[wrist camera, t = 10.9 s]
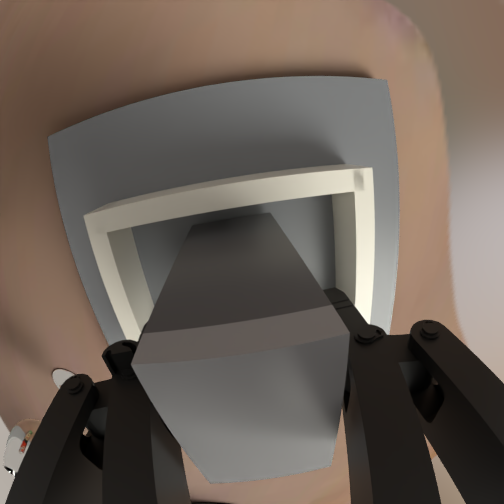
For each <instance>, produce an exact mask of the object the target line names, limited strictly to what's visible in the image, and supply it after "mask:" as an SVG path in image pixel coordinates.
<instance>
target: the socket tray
mask: <svg viewBox="0 0 504 504" xmlns="http://www.w3.org/2000/svg"><path fill="white" fill-rule="evenodd" d="M48 145H49V153H50V160H51V167H52V173H53V178H54V184H55V189H56V194H57V198H58V203H59V207H60V211H61V215H62V219H63V223H64V227H65V231H66V234H67V238H68V241H69V245H70V248H71V251H72V254H73V257H74V260H75V263H76V266H77V269H78V272H79V275H80V278H81V281H82V283H83V286H84V289H85V291H86V294H87V296H88V299H89V301H90V304H91V306H92V309H93V311H94V313H95V316H96V318H97V320H98V322H99V325H100V327H101V329H102V331H103V333H104V335H105V337H106V340H107V342H108V344H109V346H110V345H112V344H113V343H115V342H118V341H121V340H134V341H136V342H137V341H139V340H138V339H139V336H140V334H141V332H142V329H143V327H144V325H145V324H146V323H147V322H148V320H149V318H150V315H151V313H152V311H153V308H154V306H155V304H156V301H157V299H158V297H159V295H160V292H161V290H162V288H163V286H164V283H165V281H166V279H167V277H168V275H169V272H170V270H171V268H172V266H173V264H174V262H175V260H176V257H177V255H178V253H179V251H180V249H181V247H182V245H183V243H184V241H185V239H186V237H187V235H188V233H189V231H190V229H191V227H192V225H197V224H203V223H209V222H214V221H220V220H226V219H232V218H238V217H245V216H251V215H257V214H264V213H271V214H272V216H273V217H274V219H275V220H276V222H277V223H278V224H279V226H280V227H281V229H282V230H283V232H284V233H285V235H286V236H287V237H288V239H289V240H290V242H291V243H292V245H293V246H294V248H295V249H296V251H297V252H298V254H299V255H300V257H301V258H302V260H303V261H304V263H305V264H306V266H307V267H308V269H309V270H310V272H311V273H312V275H313V276H314V278H315V279H316V281H317V282H318V284H319V285H320V287H321V288H322V290H324V289H329V288H334V287H335V288H337V289H339V290H341V291H343V292H344V293H345V294H346V295H347V297H348V298H349V300H351V302H352V303H353V304H354V306H355V307H356V308H357V310H358V311H359V312H360V314H361V315H362V316H363V318H364V319H365V320H366V322H367V323H368V324H372V325H376V326H378V327H380V328H382V329H383V330H384V331H385V332H386V334H387V335H389V332H390V326H391V319H392V312H393V305H394V297H395V288H396V278H397V265H398V249H399V214H400V209H399V173H398V157H397V146H396V136H395V127H394V119H393V112H392V105H391V99H390V93H389V87H388V82H387V80H382V79H372V78H360V77H342V76H293V77H275V78H262V79H252V80H243V81H235V82H227V83H221V84H214V85H208V86H203V87H198V88H192V89H188V90H183V91H178V92H174V93H170V94H166V95H162V96H158V97H154V98H150V99H147V100H143V101H140V102H136V103H133V104H130V105H126V106H123V107H120V108H117V109H114V110H111V111H108V112H106V113H103V114H100V115H97V116H95V117H92V118H90V119H87V120H84V121H82V122H80V123H77V124H75V125H72V126H70V127H68V128H66V129H63V130H61V131H59V132H57V133H55V134H53V135H50V136H48Z"/></svg>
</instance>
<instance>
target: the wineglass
mask: <svg viewBox="0 0 504 504" xmlns="http://www.w3.org/2000/svg"><path fill="white" fill-rule="evenodd" d="M74 375H75V374H74V373H72V372H70V371H67V370H64V369H56V370H54V371H53V374H52V377H53V380H54V382H55V384H56V386H57V387H58V388H59V389H60V387H61V385H62V384H63V383H64V382H65V380H67V379H68V378H69V377H71V376H74ZM40 423H41V421H39V420H36V419H30V418H29V419H23V420H21V421H19V422H18V423H17V424H16V425H15V426H14V427H13V429H12V431H11V433H10V435H9V437H8V440H7V444H6V450H5V455H4V463H3V466H4V468H5V469H6V470H7V471H8V472H9V473H11V474H12V475H13V476H14V477H16V474H17V472H18V469H19V467H20V465H21V462H22V460H23V458H24V456H25V454H26V451H27V449H28V447H29V445H30V443H31V441H32V439H33V437H34V435H35V433H36V431H37V429H38V427H39V425H40Z"/></svg>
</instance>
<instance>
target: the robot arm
mask: <svg viewBox="0 0 504 504" xmlns="http://www.w3.org/2000/svg"><path fill="white" fill-rule="evenodd" d="M323 291H324V293H325V294H326V296H327V298H328V299H329V301H330V302H331V304H332V305H333V307H334V308H335V310H336V312H337V313H338V315H339V316H340V318H341V319H342V321H343V323H344V324H345V326H346V327H347V329H348V331H349V332H350V338H349V350H348V361H347V371H346V379H345V388H344V395H343V402H342V409H343V417H344V425H345V434H346V444H347V454H348V465H349V478H350V493H351V504H441V501H440V495H439V491H438V486H437V482H436V478H435V473H434V470H433V465H432V462H431V458H430V454H429V450H428V447H427V443H426V440H425V436H426V438H427V439H428V441H429V442H430V444H431V445H432V447H433V449H434V450H435V452H436V454H437V455H438V457H439V458H440V460H441V462H442V463H443V465H444V467H445V468H446V470H447V472H448V473H449V475H450V476H451V478H452V480H453V482H454V483H455V485H456V487H457V489H458V490H459V492H460V494H461V496H462V497H463V499H464V501H465V503H466V504H504V384H503V382H502V381H501V380H500V379H499V378H498V377H497V376H496V375H495V374H494V373H493V372H492V371H491V370H490V369H489V368H488V367H487V366H486V365H485V364H484V363H483V362H482V361H481V360H480V359H479V358H478V357H477V356H476V355H475V354H474V353H473V352H472V351H471V350H470V349H469V348H468V347H467V346H466V345H464V344H463V343H462V342H461V341H460V340H459V339H458V338H457V337H456V336H455V335H454V334H453V333H452V332H451V331H449V330H448V329H447V328H446V327H445V326H444V325H442V324H441V323H439V322H436V321H433V320H422V321H418V322H417V323H415V324H413V326H412V328H411V330H410V334H404V335H387V334H386V332H385V331H384V330H383V329H382V328H380V327H378V326H376V325H372V324H368V323H367V322H366V320H365V319H364V318H363V316H362V315H361V314H360V312H359V311H358V310H357V308H356V307H355V306H354V304H353V303H352V302H351V300H349V298H348V297H347V295H346V294H345V293H344V292H343V291H341V290H339V289H337V288H335V287H334V288H329V289H324V290H323ZM147 323H148V322H147ZM147 323H146V324H145V325H144V327H143V329H142V332H141V334H140V336H139V339H138V340H139V341H137V342H136V341H134V340H121V341H118V342H115V343H113V344H112V345H110V346H109V347H108V348H107V349H105V350H104V352H103V354H102V358H103V360H104V362H105V363H106V365H107V367H108V369H109V371H110V372H111V374H112V379H109V380H105V381H101V382H97V383H94V382H93V381H92V379H91V378H90V377H89V376H88V375H85V374H76V375H74V376H71V377H69V378H68V379H67V380H65V382H64V383H63V384H62V385H61V387H60V389H59V390H58V392H57V394H56V396H55V397H54V399H53V401H52V403H51V405H50V406H49V408H48V410H47V412H46V414H45V416H44V417H43V419H42V421H41V423H40V425H39V427H38V429H37V431H36V433H35V435H34V437H33V439H32V441H31V443H30V445H29V447H28V449H27V451H26V454H25V456H24V458H23V460H22V462H21V465H20V467H19V469H18V472H17V474H16V477H15V479H14V482H13V484H12V487H11V489H10V492H9V494H8V497H7V500H6V503H5V504H215V503H191V500H190V495H189V491H188V486H187V481H186V475H185V470H184V464H183V458H182V452H181V446H180V444H179V443H178V441H177V440H176V439H175V437H174V436H173V434H172V433H171V431H170V430H169V428H168V427H167V425H166V424H165V422H164V421H163V419H162V418H161V416H160V415H159V413H158V411H157V410H156V408H155V406H154V405H153V403H152V402H151V400H150V398H149V397H148V395H147V393H146V391H145V390H144V388H143V386H142V384H141V383H140V381H139V379H138V377H137V375H136V373H135V372H134V370H133V368H132V366H131V363H132V360H133V357H134V355H135V352H136V350H137V347H138V345H139V342H140V340H141V337H142V335H143V332H144V330H145V327H146V325H147ZM85 427H86V428H87V429H88V430H89V431H88V433H87V434H86V436H84V435H83V431H84V429H85ZM424 434H425V436H424Z"/></svg>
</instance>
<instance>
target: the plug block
mask: <svg viewBox="0 0 504 504" xmlns="http://www.w3.org/2000/svg"><path fill="white" fill-rule="evenodd" d="M349 338H350V332H349V331H348V329H347V327H346V326H345V324H344V323H343V321H342V319H341V318H340V316H339V315H338V313H337V312H336V310H335V308H334V307H333V305H332V304H331V302H330V301H329V299H328V298H327V296H326V294H325V293H324V291H323V290H322V288H321V287H320V285H319V284H318V282H317V281H316V279H315V278H314V276H313V275H312V273H311V272H310V270H309V269H308V267H307V266H306V264H305V263H304V261H303V260H302V258H301V257H300V255H299V254H298V252H297V251H296V249H295V248H294V246H293V245H292V243H291V242H290V240H289V239H288V237H287V236H286V235H285V233H284V232H283V230H282V229H281V227H280V226H279V224H278V223H277V222H276V220H275V219H274V217H273V216H272V214H271V213H264V214H257V215H251V216H245V217H238V218H232V219H226V220H220V221H214V222H209V223H203V224H197V225H192V227H191V229H190V231H189V233H188V235H187V237H186V239H185V241H184V243H183V245H182V247H181V249H180V251H179V253H178V255H177V257H176V260H175V262H174V264H173V266H172V268H171V270H170V272H169V275H168V277H167V279H166V281H165V283H164V286H163V288H162V290H161V292H160V295H159V297H158V299H157V301H156V304H155V306H154V308H153V311H152V313H151V315H150V318H149V320H148V323H147V325H146V327H145V330H144V332H143V335H142V337H141V340H140V342H139V345H138V347H137V350H136V352H135V355H134V357H133V360H132V363H131V366H132V368H133V370H134V372H135V373H136V375H137V377H138V379H139V381H140V383H141V384H142V386H143V388H144V390H145V391H146V393H147V395H148V397H149V398H150V400H151V402H152V403H153V405H154V406H155V408H156V410H157V411H158V413H159V415H160V416H161V418H162V419H163V421H164V422H165V424H166V425H167V427H168V428H169V430H170V431H171V433H172V434H173V436H174V437H175V439H176V440H177V441H178V443H179V444H180V446H181V447H182V448H183V450H184V451H185V452H186V454H187V455H188V456H189V458H190V459H191V460H192V462H193V463H194V464H195V465H196V467H197V468H198V469H199V471H200V472H201V473H202V474H203V475H204V477H205V478H206V479H207V480H208V481H209V483H231V482H244V481H254V480H263V479H270V478H277V477H283V476H289V475H294V474H299V473H304V472H309V471H313V470H317V469H321V468H325V467H329V466H331V463H332V458H333V454H334V449H335V444H336V439H337V433H338V428H339V422H340V416H341V409H342V402H343V395H344V388H345V379H346V371H347V361H348V350H349Z"/></svg>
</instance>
